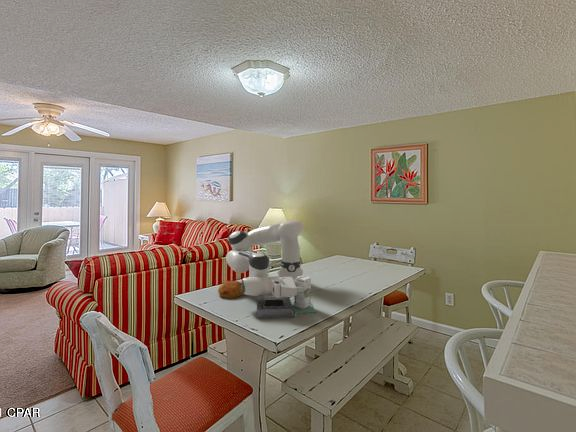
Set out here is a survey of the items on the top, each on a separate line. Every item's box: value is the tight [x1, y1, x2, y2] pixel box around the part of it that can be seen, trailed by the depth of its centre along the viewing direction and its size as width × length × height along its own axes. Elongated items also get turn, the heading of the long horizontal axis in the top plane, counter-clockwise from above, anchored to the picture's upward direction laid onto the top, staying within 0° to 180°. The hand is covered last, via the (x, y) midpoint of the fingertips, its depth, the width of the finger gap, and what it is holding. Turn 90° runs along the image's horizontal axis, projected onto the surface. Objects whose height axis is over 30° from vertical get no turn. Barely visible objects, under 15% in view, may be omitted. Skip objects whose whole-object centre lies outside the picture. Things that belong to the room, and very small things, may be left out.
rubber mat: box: [291, 300, 316, 314], centre depth 149 cm, size 14×10×1 cm
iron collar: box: [256, 296, 294, 320], centre depth 143 cm, size 16×16×4 cm
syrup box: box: [293, 275, 312, 309], centre depth 148 cm, size 6×6×14 cm
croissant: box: [217, 280, 245, 299], centre depth 167 cm, size 14×16×8 cm
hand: (304, 285), depth 148 cm, fingers open, 8 cm apart
